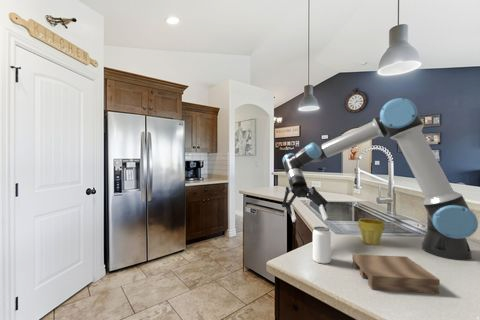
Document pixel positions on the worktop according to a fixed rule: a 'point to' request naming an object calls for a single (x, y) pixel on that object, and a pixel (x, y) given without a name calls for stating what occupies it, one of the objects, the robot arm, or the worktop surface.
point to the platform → (395, 273)
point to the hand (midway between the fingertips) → (310, 220)
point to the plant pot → (371, 230)
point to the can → (321, 245)
